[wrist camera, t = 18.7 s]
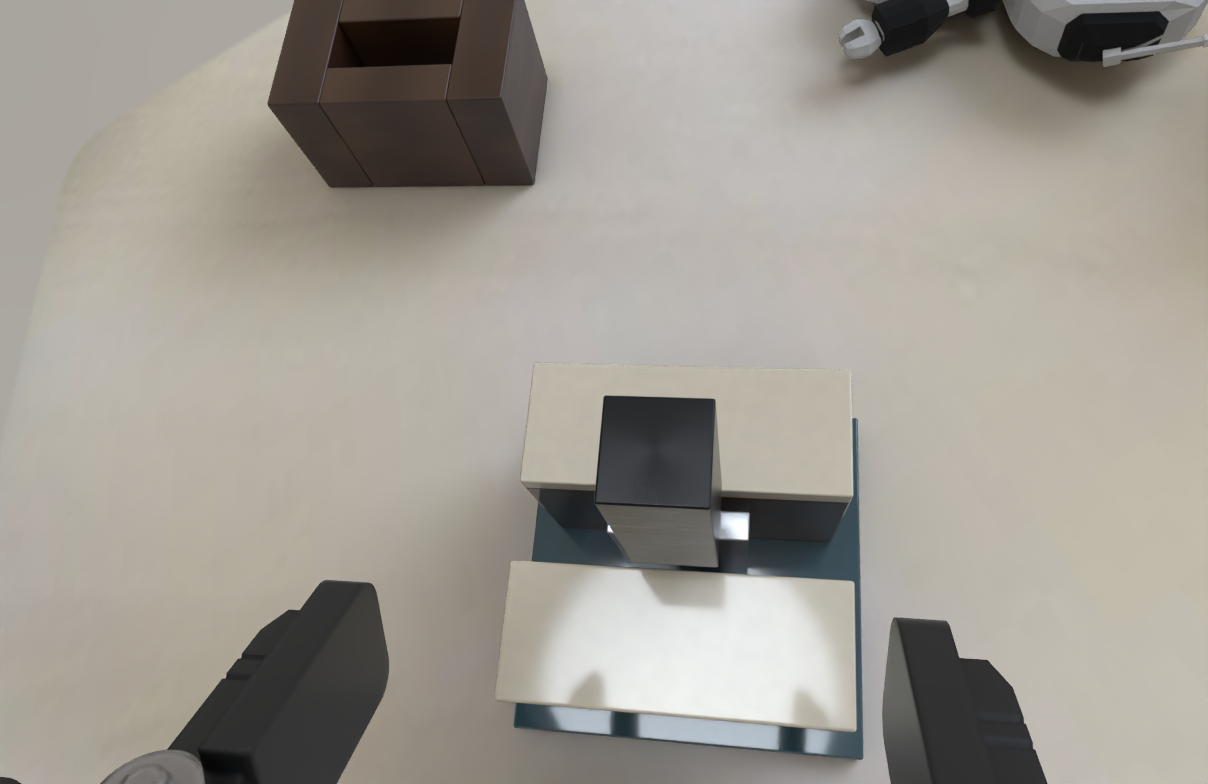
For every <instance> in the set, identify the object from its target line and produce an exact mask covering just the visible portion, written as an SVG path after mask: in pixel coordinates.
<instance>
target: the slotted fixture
mask: <svg viewBox="0 0 1208 784" xmlns="http://www.w3.org/2000/svg"><path fill="white" fill-rule="evenodd" d="M606 395H611V396H645V397H678V398H712V399H715V401H716V413H717V426H718V439H719V453H720V466H721V479H722V496H721V511H728V512H748V513H749V514H750V523H749V551H748V573H747V574H732V573H716V572H699V571H683V570H667V569H650V568H634V567H630V565H629V564H628V562H627V561H626V560H625V558H624V557H623V555H622V554H621V552H620V551H619V549H618V548H617V546H616V545H615V543H614V542H613V541H612V539H611V538H610V536H609V535H608V533H607V522H606V520H605V519H604V517H603V516H602V514H601V513H600V511H599V509H598V508H597V506H596V505H595V503H594V496H595V485H596V474H597V463H598V452H599V441H600V430H601V419H602V408H603V398H604V396H606ZM520 482H521V483H522V484H523V485H524V486H525V487H526V488H527V490H528V491H529V492H530V493H531V494H532V495H533V496H534V497H535V499H536V500H537V501H538V509H537V518H536V527H535V536H534V545H533V554H532V561H518V560H513V561H511V563H510V569H509V578H508V586H507V594H506V603H505V611H504V619H503V628H502V636H501V644H500V653H499V661H498V669H497V678H496V686H495V695H494V698H495V700H496V701H502V702H511V703H516V707H515V716H514V727H515V728H523V729H534V730H545V731H556V732H567V733H577V734H588V735H599V736H610V737H620V738H631V739H642V740H653V741H664V742H674V743H685V744H696V745H707V746H717V747H728V748H739V749H750V750H760V751H771V752H782V753H793V754H804V755H814V756H825V757H836V758H847V759H857V760H862V759H863V711H862V651H861V592H860V532H859V472H858V420H857V419H856V418H852V372H851V370H832V369H788V368H745V367H701V366H657V365H613V364H570V363H534V367H533V375H532V383H531V392H530V400H529V408H528V417H527V425H526V433H525V442H524V450H523V458H522V467H521V475H520Z"/></svg>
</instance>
